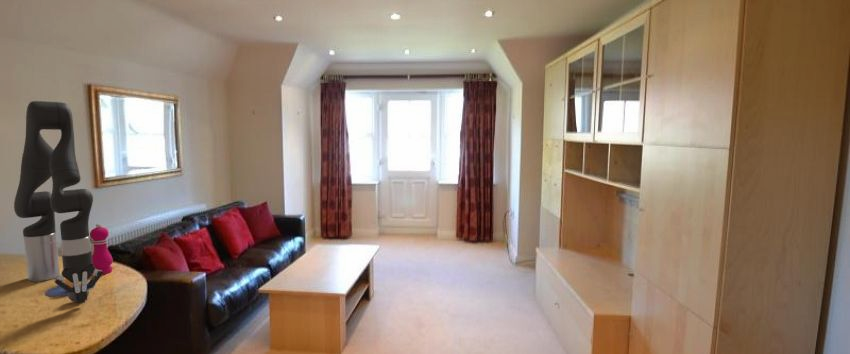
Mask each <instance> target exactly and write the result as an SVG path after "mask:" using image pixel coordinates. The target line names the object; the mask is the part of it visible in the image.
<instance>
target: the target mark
mask: <svg viewBox="0 0 850 354" xmlns="http://www.w3.org/2000/svg"><path fill="white" fill-rule="evenodd" d="M89 281H90V280H89ZM89 281H88V280H87V284H88V283H89ZM94 286H96V284H95V285H94ZM94 286H93V288H95V287H94ZM88 290H89V289H88ZM90 290H91V288H90ZM90 290H89V291H90ZM68 293H69V292H67V291H65V290H64V289H63V288H62V287H60V286H59V285H55V286H54V287H50V288H49V289H47V290H46V291H45V296H47V297H51V296H54V297H55V296H61V297H68V296H67V295H68ZM54 297H53V298H54ZM55 298H56V297H55Z"/></svg>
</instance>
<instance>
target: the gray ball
mask: <svg viewBox="0 0 850 354" xmlns="http://www.w3.org/2000/svg"><path fill="white" fill-rule="evenodd" d="M79 287H80V291H81V285H79ZM89 294H90V290H87V298H88V297H89ZM67 297H68V300H70V301H71V302H73V303H78V302H77V301H76V298H75V293H74V292H71V293H68V296H67Z"/></svg>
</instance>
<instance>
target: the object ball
mask: <svg viewBox="0 0 850 354" xmlns="http://www.w3.org/2000/svg"><path fill="white" fill-rule="evenodd" d="M64 280H65V282H64V283H66V284H67V285H68V286H70V287H74V286H73V283H72V282H70V281H69V280H67V279H66V278H64ZM79 285H81V282H79ZM64 290H65V289H64ZM65 291H66V290H65ZM67 292H68V291H67Z"/></svg>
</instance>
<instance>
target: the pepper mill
mask: <svg viewBox="0 0 850 354" xmlns="http://www.w3.org/2000/svg"><path fill="white" fill-rule="evenodd" d="M109 234H110V233H109V230H108V229H107V228H106V227H103V226H102V224H101V223H96V224H95V228H93V229H91V230H90V231H89V237H90V239H92V240H91V245H93V251H92V252H93V253H92V261H93V265H94V267H95V269H97V270H101V271H102V272H103V274H102V275H108V274H110V273H112V272H113V266H112V264H113V262H114V259H113V258H114V257H112V254H111V252H110V251H109V249H108V245H107V243H109V241H108V239H109V238H108V237H109ZM93 273H94V272H93ZM93 273H92V274H93Z"/></svg>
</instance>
